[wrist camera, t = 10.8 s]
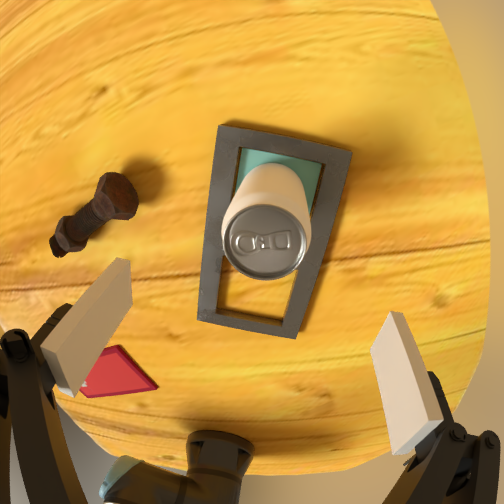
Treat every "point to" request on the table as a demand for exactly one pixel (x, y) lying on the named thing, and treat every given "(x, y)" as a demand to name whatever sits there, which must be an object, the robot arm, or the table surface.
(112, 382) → the red board with handle
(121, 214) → the bolt
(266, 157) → the pad
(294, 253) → the can
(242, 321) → the grey flat frame
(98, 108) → the table surface
